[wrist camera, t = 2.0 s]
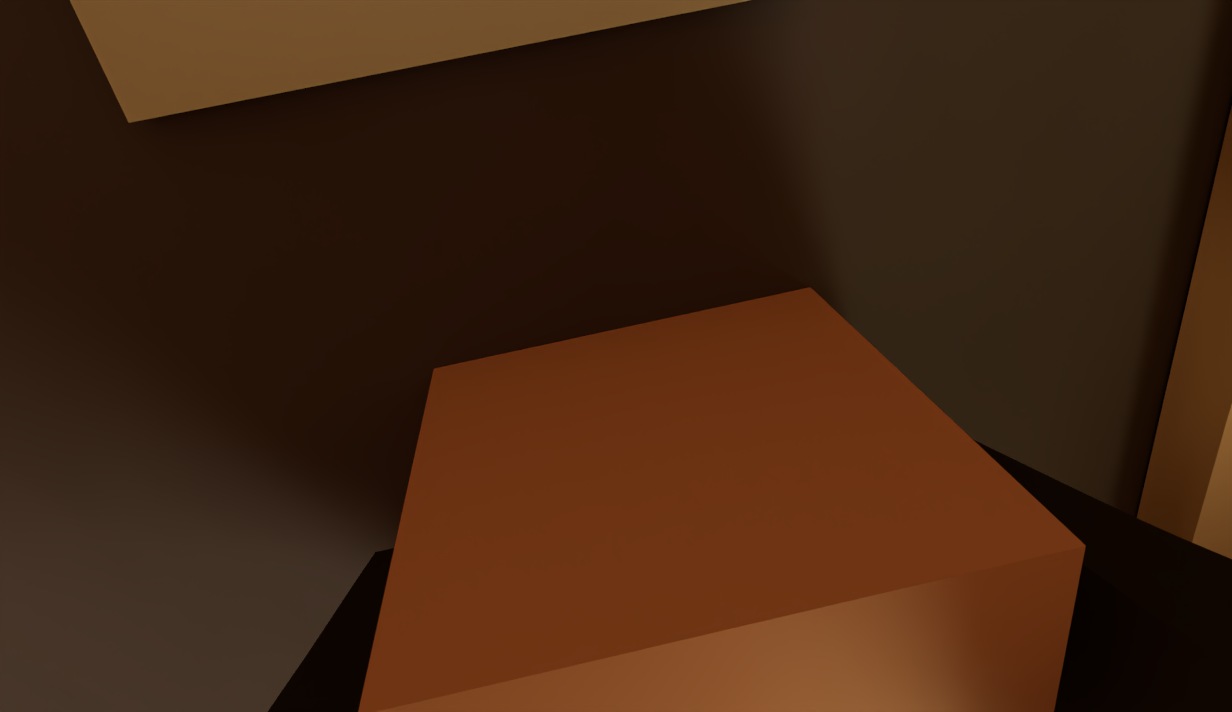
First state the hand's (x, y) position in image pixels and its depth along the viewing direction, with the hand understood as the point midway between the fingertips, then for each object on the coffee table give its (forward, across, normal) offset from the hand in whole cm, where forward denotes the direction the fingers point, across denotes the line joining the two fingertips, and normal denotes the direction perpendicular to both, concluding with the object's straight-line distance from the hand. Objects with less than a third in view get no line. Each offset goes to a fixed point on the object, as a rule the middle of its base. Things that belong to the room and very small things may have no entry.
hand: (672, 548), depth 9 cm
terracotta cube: (+2, 0, 0) cm, 2 cm away
